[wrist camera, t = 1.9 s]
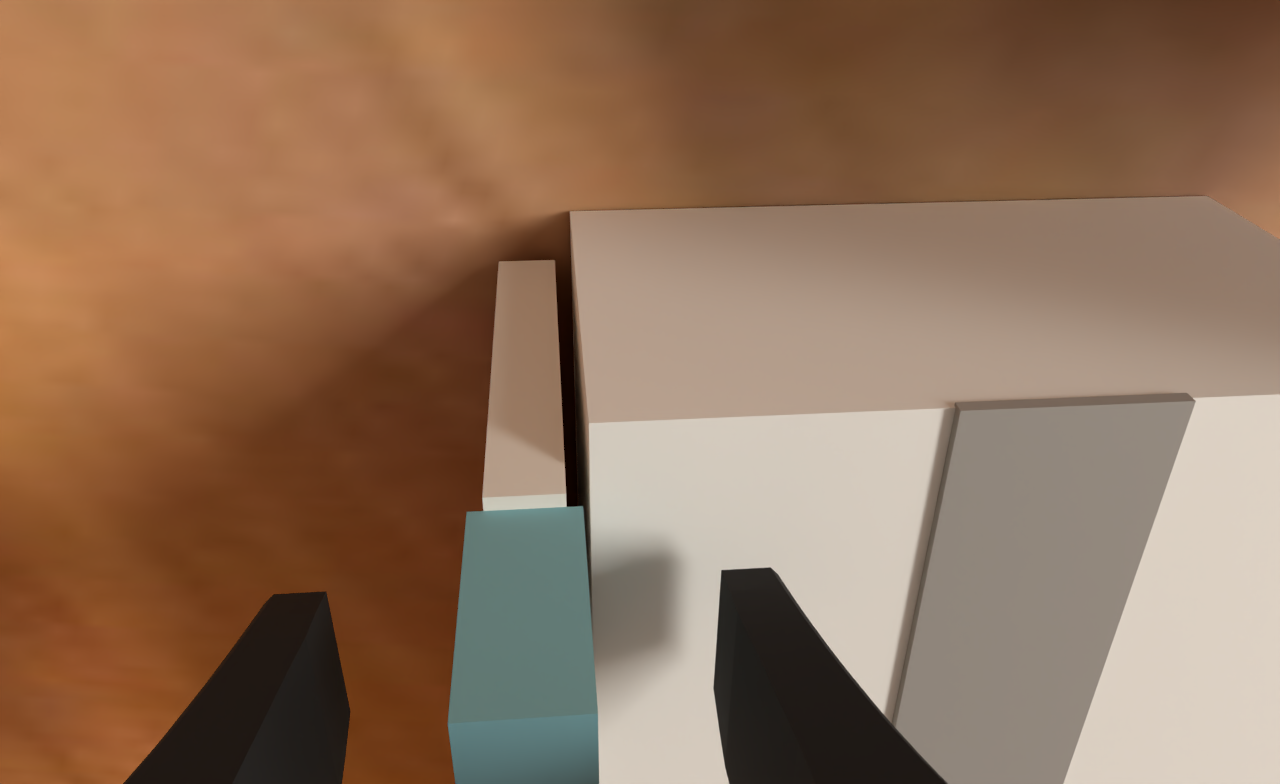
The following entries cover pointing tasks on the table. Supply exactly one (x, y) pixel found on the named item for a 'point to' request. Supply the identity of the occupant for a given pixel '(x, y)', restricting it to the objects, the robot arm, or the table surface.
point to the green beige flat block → (524, 569)
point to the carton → (942, 475)
